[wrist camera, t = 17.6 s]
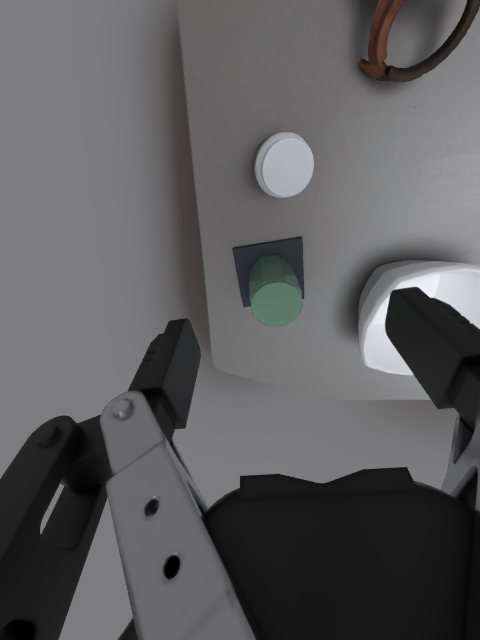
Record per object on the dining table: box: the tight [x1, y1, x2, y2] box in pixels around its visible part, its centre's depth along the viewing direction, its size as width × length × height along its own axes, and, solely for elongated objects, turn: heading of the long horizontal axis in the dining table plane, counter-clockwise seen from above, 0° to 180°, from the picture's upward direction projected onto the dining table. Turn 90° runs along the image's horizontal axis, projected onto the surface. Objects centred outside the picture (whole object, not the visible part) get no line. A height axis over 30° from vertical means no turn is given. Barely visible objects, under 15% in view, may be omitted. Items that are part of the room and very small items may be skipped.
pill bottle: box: [253, 132, 314, 198], centre depth 27 cm, size 6×6×10 cm
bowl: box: [358, 260, 480, 375], centre depth 37 cm, size 18×18×9 cm
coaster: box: [233, 237, 304, 307], centre depth 39 cm, size 10×10×1 cm
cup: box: [249, 255, 303, 327], centre depth 35 cm, size 6×6×9 cm
